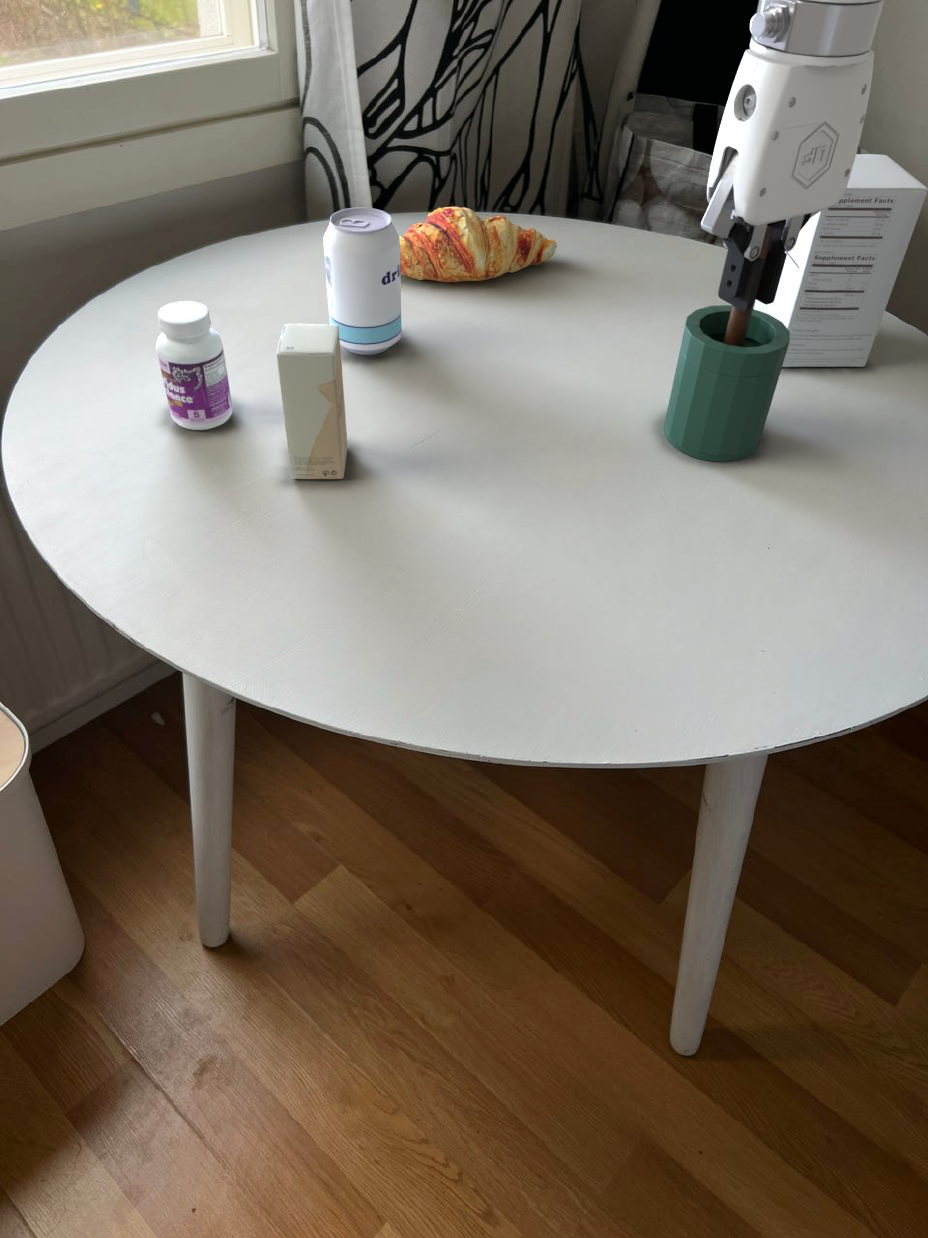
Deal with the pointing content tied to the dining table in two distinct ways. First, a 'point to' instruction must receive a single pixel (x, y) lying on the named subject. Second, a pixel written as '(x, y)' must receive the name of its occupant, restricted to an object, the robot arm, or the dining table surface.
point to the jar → (724, 385)
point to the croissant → (469, 247)
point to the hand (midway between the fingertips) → (745, 298)
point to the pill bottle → (193, 366)
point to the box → (313, 400)
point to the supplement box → (847, 266)
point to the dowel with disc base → (742, 318)
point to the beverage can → (363, 279)
